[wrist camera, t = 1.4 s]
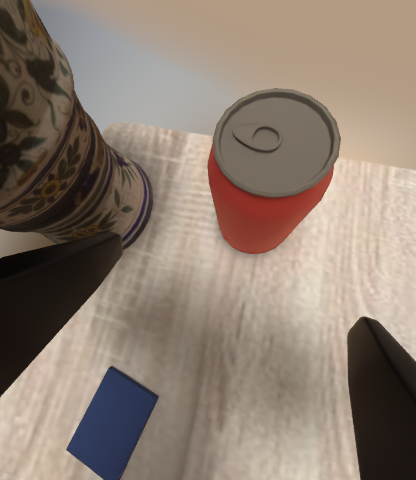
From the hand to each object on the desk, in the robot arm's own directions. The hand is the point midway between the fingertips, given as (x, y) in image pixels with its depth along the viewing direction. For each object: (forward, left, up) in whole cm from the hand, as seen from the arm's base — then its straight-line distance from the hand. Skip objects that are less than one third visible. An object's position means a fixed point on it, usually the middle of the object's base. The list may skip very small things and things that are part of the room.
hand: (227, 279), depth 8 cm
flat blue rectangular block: (-14, +4, -13) cm, 20 cm away
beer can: (+7, +1, -13) cm, 14 cm away
